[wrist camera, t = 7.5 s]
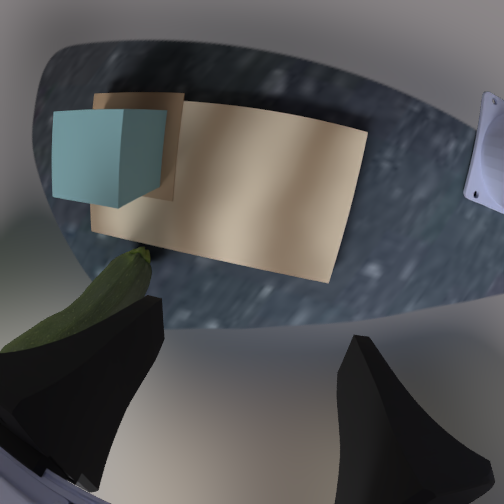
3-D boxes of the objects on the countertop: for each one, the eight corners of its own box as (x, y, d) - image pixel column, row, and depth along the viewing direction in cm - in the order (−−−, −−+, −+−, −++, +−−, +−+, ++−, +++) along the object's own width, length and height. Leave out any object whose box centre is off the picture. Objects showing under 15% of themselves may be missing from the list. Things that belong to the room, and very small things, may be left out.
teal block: (167, 110, 16) (123, 109, 12) (159, 186, 18) (118, 208, 14) (103, 109, 17) (53, 112, 12) (99, 178, 19) (52, 196, 14)
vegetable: (173, 285, 23) (22, 514, 5) (130, 290, 24) (-17, 477, 6) (155, 233, 21) (-55, 452, 3) (111, 242, 22) (-76, 417, 4)
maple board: (365, 124, 16) (369, 124, 15) (327, 274, 21) (328, 284, 19) (104, 94, 17) (94, 93, 16) (100, 225, 22) (91, 231, 21)
